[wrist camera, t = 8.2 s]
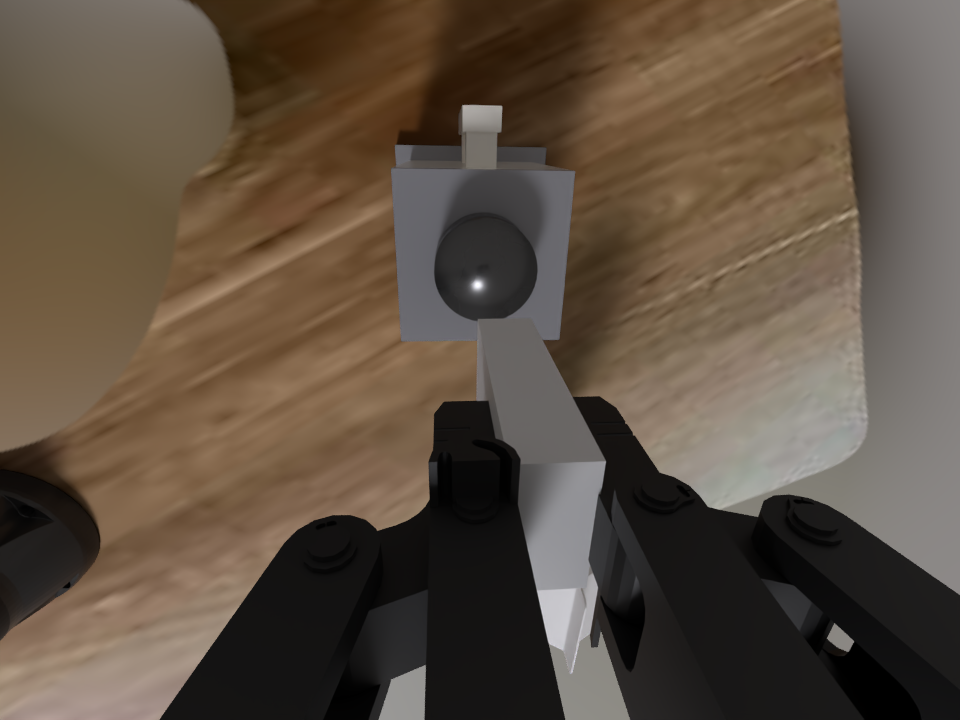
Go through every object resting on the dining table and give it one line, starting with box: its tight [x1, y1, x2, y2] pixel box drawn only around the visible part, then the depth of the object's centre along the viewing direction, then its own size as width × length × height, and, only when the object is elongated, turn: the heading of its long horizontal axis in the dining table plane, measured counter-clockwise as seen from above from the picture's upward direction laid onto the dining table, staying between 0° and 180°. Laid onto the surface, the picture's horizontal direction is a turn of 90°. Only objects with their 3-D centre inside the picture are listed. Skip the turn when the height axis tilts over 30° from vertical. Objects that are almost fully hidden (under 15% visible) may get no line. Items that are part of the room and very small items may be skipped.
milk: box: [537, 566, 598, 674], centre depth 36 cm, size 6×6×22 cm
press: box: [391, 105, 575, 341], centre depth 31 cm, size 11×13×14 cm
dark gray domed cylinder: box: [434, 212, 538, 321], centre depth 29 cm, size 6×6×14 cm
